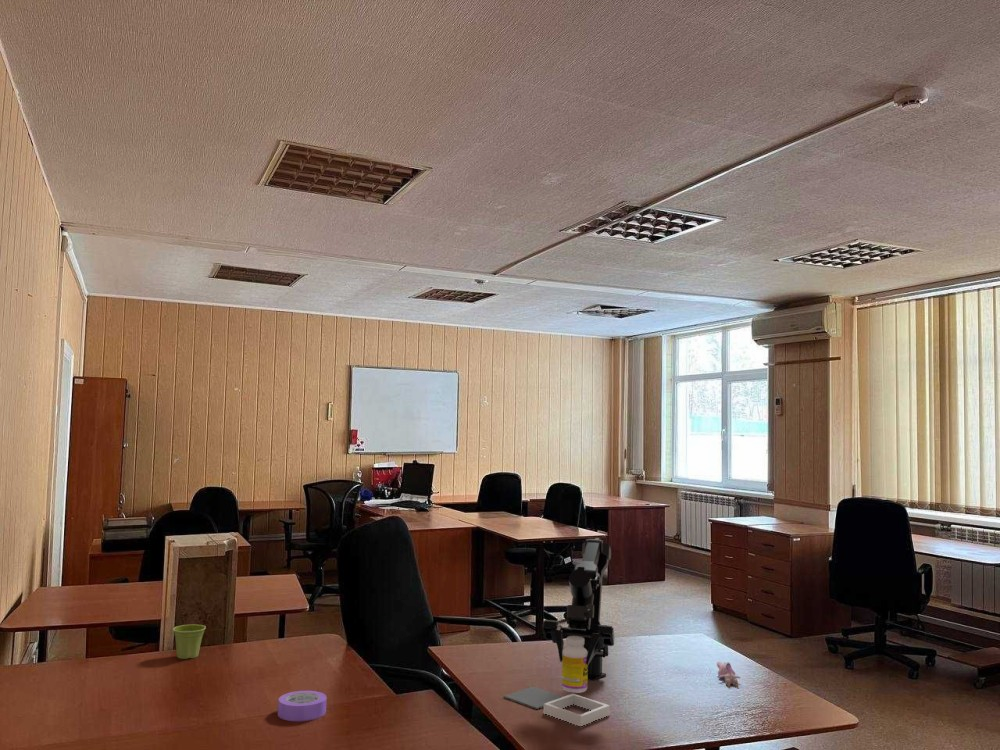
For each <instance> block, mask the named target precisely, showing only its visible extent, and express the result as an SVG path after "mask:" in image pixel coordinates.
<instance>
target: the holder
mask: <svg viewBox="0 0 1000 750" xmlns="http://www.w3.org/2000/svg"><path fill="white" fill-rule="evenodd" d="M563 696H564V697H561V698H559V699H556V700H553V701H550V702H547V703H545V704H544V707H543V713H544V714H543V715H545V714H547V715H546V716H548V715H550V716H549V717H551V716H553V717H555V718H554V719H556V718H558V719H557V720H559V719H561V720H560V721H562V720H564V721H567V722H569V723H568V724H570V723H572V724H571V725H573V724H575V725H574V726H576V725H578V726H583V725H585V726H587V725H586V724H588V723H590V724H592V723H591V722H593V721H595V720H597V721H599V720H598V719H600V720H602V719H604V717H605V718H606V716H607V717H609V716H611V715H610V714H611V713H610V712H611V711H610V709H611V708H610V707H611V705H610V704H606V703H604V702H601V701H599V700H598V701H597V700H595V699H592V698H587V697H585V696H582V695H579V694H577V693H570V694H567V695H563ZM573 704H574V705H573ZM570 705H572V706H575V705H577V706H576V707H578V706H580V707H579V708H581V707H583V708H582V709H584V708H586V709H585V710H587V709H589V710H587V711H586V712H584V713H581V714H579V713H577V712H574V711H570V710H568V709H566V708H568V707H567V706H569V707H571V706H570ZM565 707H566V708H565ZM562 708H564V709H562ZM590 710H591V711H590ZM553 717H552V718H553ZM601 718H602V719H601ZM564 721H563V722H564ZM567 722H566V723H567ZM595 722H596V721H595ZM593 723H594V722H593ZM588 725H589V724H588ZM578 726H577V727H578ZM583 727H584V726H583Z"/></svg>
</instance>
